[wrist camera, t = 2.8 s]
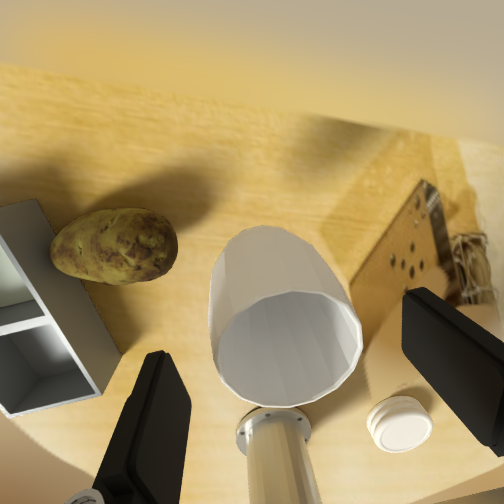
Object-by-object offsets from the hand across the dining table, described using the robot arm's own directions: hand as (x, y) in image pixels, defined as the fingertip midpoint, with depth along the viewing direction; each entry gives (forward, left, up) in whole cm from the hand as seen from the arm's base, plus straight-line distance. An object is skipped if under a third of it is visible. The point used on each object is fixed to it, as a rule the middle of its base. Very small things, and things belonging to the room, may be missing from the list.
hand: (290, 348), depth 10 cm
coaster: (-40, -17, -21) cm, 49 cm away
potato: (+2, +14, -21) cm, 25 cm away
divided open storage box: (-3, +27, -21) cm, 34 cm away
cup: (0, 0, -21) cm, 21 cm away
